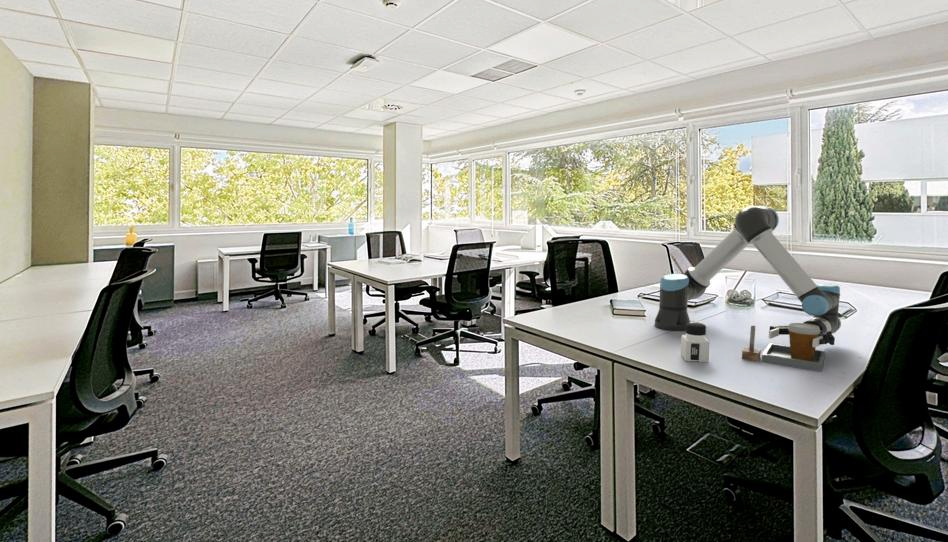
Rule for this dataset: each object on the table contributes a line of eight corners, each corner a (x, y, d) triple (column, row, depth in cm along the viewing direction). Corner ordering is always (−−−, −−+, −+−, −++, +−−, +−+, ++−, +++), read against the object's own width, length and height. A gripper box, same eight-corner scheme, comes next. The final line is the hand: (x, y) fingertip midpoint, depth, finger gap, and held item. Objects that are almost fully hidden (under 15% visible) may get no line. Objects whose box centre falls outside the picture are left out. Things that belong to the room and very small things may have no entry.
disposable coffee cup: (784, 353, 172) (786, 321, 171) (816, 357, 168) (818, 324, 166) (786, 360, 164) (789, 327, 163) (820, 364, 159) (823, 330, 158)
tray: (761, 361, 166) (762, 354, 166) (768, 349, 179) (769, 343, 179) (821, 371, 155) (822, 363, 155) (824, 358, 168) (825, 351, 168)
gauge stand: (741, 359, 169) (743, 326, 167) (744, 355, 173) (746, 323, 171) (757, 361, 166) (760, 328, 164) (760, 358, 170) (762, 325, 168)
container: (708, 362, 166) (710, 326, 164) (685, 361, 167) (687, 325, 165) (702, 355, 173) (704, 321, 171) (680, 354, 175) (681, 320, 173)
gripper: (855, 346, 167) (833, 358, 155) (777, 331, 187) (752, 341, 175) (857, 325, 166) (835, 336, 154) (779, 313, 186) (753, 321, 174)
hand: (791, 338), depth 164 cm, fingers open, 13 cm apart
